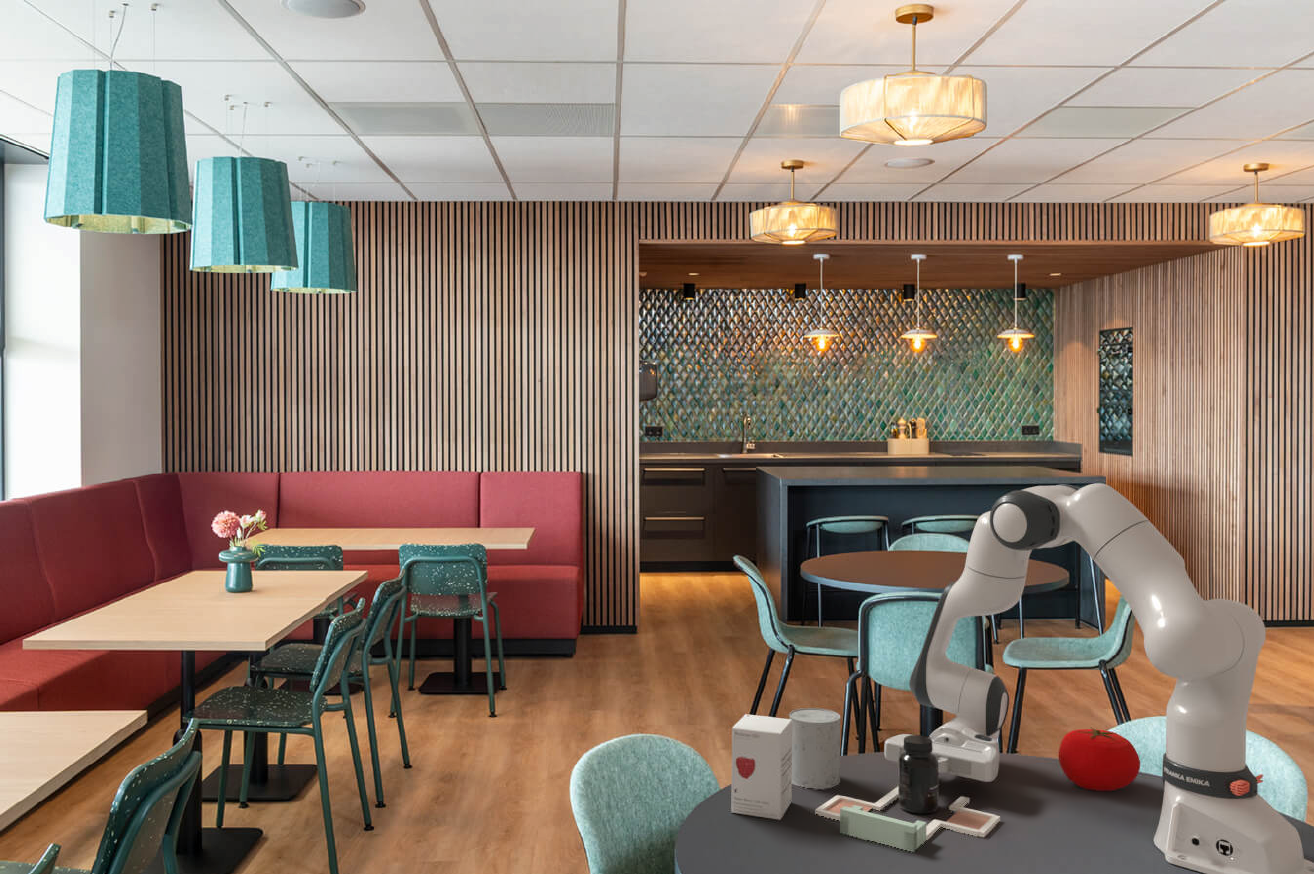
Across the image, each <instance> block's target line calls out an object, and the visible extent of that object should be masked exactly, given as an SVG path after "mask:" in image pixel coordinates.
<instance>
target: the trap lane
mask: <svg viewBox="0 0 1314 874" xmlns="http://www.w3.org/2000/svg"><path fill="white" fill-rule="evenodd" d="M897 798H898V786H896V787H895V788H894V789H892V790H891V791H889V792H888V793H887V794H885V795H884V796H883V797H881V798H880V799H878V800H877V801H875V802H869V801H866V800H863V799H858V798H857V799H856V798H854V797H849V796H845V795H839V794H837V795H835V796H833V797H832V798H831V799H829V800H827V801H826V802H824V803H823V804H822V805H820V806H818V807H817V808H815V810H814V814H815V815H816V814H818V815H817V816H819V817H821V816H824V817H823V818H825V817H826V819H829V818H831V819H830V820H833V819H835V820H834V821H837V820H839V821H838V822H840V823H839V833H840V834H841V833H842V835H845V834H846V835H845V836H848V835H849V837H852V836H853V838H856V837H857V838H856V839H861V840H864V841H867V840H870V841H869V842H871V841H875V842H877V843H876V844H879V843H881V844H880V845H882V844H885V845H884V846H886V845H889V846H888V847H890V846H892V847H891V848H894V847H896V848H895V849H897V848H899V849H898V850H901V849H903V850H902V851H905V850H907V851H906V852H909V851H911V852H910V853H912V852H913V853H915V850H916V849H917V848H918V847H919V846H920V845H921V844H922V845H924V844H925V843H926V842H927V841H928V840H929V839H930V838H932V836H934V835H935V834H936V833H937V832H938V831H939V830H940V829H941V828H940V827H943V828H946V829H945V830H947V829H950V830H949V831H951V830H953V831H952V832H955V833H960V834H964V833H965V834H964V835H968V834H969V835H968V836H972V835H973V836H972V837H978V836H979V837H978V838H982V837H983V839H984V838H985V837H986V836H987V835H988V834H989V833H990V832H991V831H992V830H993V829H994V828H995V827H996V826H997V825H998V824H999V823H1000V822H1001V816H1000V815H997V814H994V813H989V812H985V811H980V810H976V809H973V808H967V807H966V806H967V805H968V804H970V803H969V802H970V799H971V798H970V797H966V796H962V795H961V796H960V797H958V798H957V799H956V800H954V802H952V803H951V804H950V805H949V806H948V807H949V808H948V809H949V810H953V811H957V812H954V814H953V815H952V816H951V817H950V818H948V819H947V820H946V821H944V820H940V819H936V818H935V819H933V820H931V821H930V822H929V823H928V824H927V821H922V820H916V821H915V822H914V823H913V822H910V821H905V820H901V819H897V818H894V817H890V816H885V815H881V814H877V813H874V812H871V811H870V812H868V811H869V810H870V809H872V808H873V809H876V810H879V811H880V810H881V809H883V808H884V807H885V806H887V805H888V804H889V803H891V804H892V803H894V802H895V801H897ZM898 799H899V798H898ZM894 800H895V801H894ZM893 801H894V802H893ZM967 803H968V804H967ZM966 804H967V805H966ZM965 805H966V806H965ZM888 806H889V805H888ZM888 806H887V807H888ZM964 806H965V807H964ZM884 809H885V808H884ZM884 809H883V810H884ZM949 810H948V811H949ZM879 811H878V812H879ZM880 812H881V811H880ZM999 821H1000V822H999ZM998 822H999V823H998ZM997 823H998V824H997ZM996 824H997V825H996ZM939 828H940V829H939ZM943 828H942V829H943ZM938 829H939V830H938ZM937 830H938V831H937ZM936 831H937V832H936ZM935 832H936V833H935ZM934 833H935V834H934ZM933 834H934V835H933ZM926 840H927V841H926ZM925 841H926V842H925ZM875 842H874V843H875ZM924 842H925V843H924ZM922 845H921V846H922ZM921 846H920V847H921ZM920 847H919V848H920ZM919 848H918V849H919ZM918 849H917V850H918ZM917 850H916V851H917Z"/></svg>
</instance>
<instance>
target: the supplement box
mask: <svg viewBox="0 0 1314 874" xmlns="http://www.w3.org/2000/svg"><path fill="white" fill-rule="evenodd" d="M792 728H793V720H792V719H790V718H782V717H781V718H780V717H773V716H766V715H757V714H755V715H754V714H747V713H745V714H744V715H743V716H742V717H741V718H740V719H739V720H738V721H737V722H736V723H735V724H734V725H733V726H732V728H731V787H730V788H731V789H730V791H731V794H730V796H731V799H730V800H731V801H730V804H731V806H730V808H731V810H730V811H731V814H732V813H733V814H741V815H747V816H752V817H758V818H759V817H760V818H766V819H772V820H779V821H780V820H781V819H782V818H783V817H784V815H785V813H786V811H787V810H788V808H789V806H790V804H791V803H792V792H793V790H792V786H793V784H792Z"/></svg>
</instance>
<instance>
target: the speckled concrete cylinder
mask: <svg viewBox="0 0 1314 874" xmlns="http://www.w3.org/2000/svg"><path fill="white" fill-rule="evenodd" d="M788 716H789V719H792V720H793V728H792V785H794V786H796V785H797V786H796V787H798V786H801V787H800V788H802V787H805V788H804V789H807V788H814V789H813V790H818V789H821V790H825V789H824V788H830V787H834V786H836V785H838V784H839V783H841V718H842V717H841V715H840V714H839V712H836V711H833V710H830V709H827V708H826V709H825V708H816V707H814V708H813V707H808V708H798V709H794V710H792V711H791V712H789V715H788ZM839 785H840V784H839ZM839 785H838V786H839ZM836 787H837V786H836ZM834 788H835V787H834ZM830 789H831V788H830Z"/></svg>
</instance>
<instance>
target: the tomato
mask: <svg viewBox="0 0 1314 874" xmlns="http://www.w3.org/2000/svg"><path fill="white" fill-rule="evenodd" d="M1058 760H1059V761H1058V762H1059V766H1060V768H1061V769H1062V771H1063V774H1064V775H1065V776H1066V778H1067V779H1068V780H1069V781H1071V783H1074V784H1075V785H1077V786H1078V787H1081V788H1083V789H1085V790H1092V791H1098V792H1100V791H1101V792H1105V791H1106V792H1108V791H1109V792H1110V791H1117V790H1118V789H1123V788H1125V787H1126V786H1128V785H1129V784H1131V783H1132V782H1133V781H1134V780H1135V779H1136V778H1137V777H1138V774H1139V772H1140V769H1141V768H1140V767H1141V760H1140V757H1139V754H1138V752H1137V750H1136V748H1135V746H1134V744H1132V743H1131V742H1130V740H1129V739H1127V738H1125V737H1124V736H1123V735H1121V734H1118V733H1117V732H1114V731H1111V730H1106V729H1095V728H1093V727H1090V728H1080V729H1073V730H1071V731H1069V732H1067V733H1066V734H1065V735H1064V736H1063V738H1062V740H1061V742H1060V745H1059V749H1058Z"/></svg>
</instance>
